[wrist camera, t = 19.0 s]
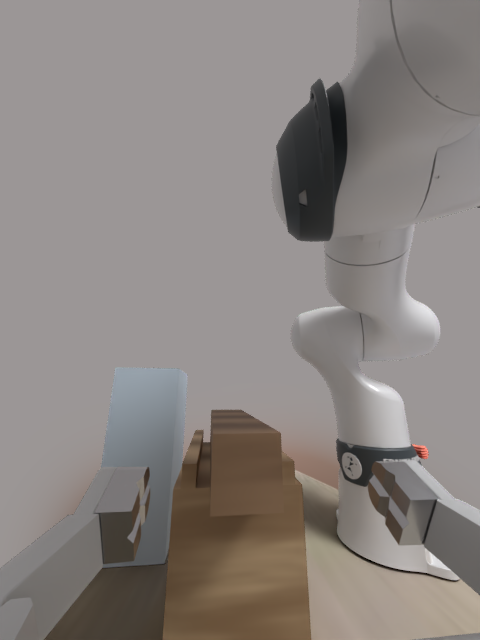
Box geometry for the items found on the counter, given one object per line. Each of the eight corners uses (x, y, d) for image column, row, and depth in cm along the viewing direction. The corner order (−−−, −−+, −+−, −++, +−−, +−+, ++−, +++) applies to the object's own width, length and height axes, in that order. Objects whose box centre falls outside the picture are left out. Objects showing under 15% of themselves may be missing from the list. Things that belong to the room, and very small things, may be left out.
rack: (182, 601, 27) (191, 430, 32) (262, 594, 28) (259, 429, 33) (146, 865, 12) (174, 464, 17) (322, 830, 13) (300, 461, 18)
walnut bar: (210, 442, 32) (211, 409, 33) (240, 442, 32) (241, 409, 34) (210, 516, 13) (212, 433, 14) (284, 512, 13) (280, 433, 15)
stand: (126, 512, 47) (142, 374, 55) (179, 509, 49) (187, 374, 56) (86, 569, 32) (115, 367, 40) (164, 563, 33) (179, 368, 41)
